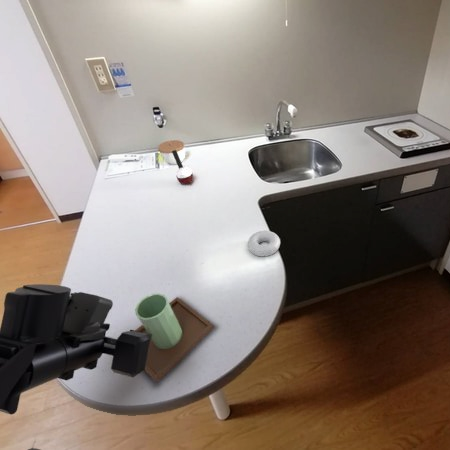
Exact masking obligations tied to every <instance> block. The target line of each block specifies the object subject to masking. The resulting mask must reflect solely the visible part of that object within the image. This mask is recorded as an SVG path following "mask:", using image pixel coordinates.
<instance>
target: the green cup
mask: <svg viewBox="0 0 450 450" xmlns="http://www.w3.org/2000/svg"><path fill="white" fill-rule="evenodd" d="M134 312H135V313H134V314H135V316H136V318H137V319H138V321H139V322H140V324H141V325H142V326H143V327H144V329H145V330H146V332H147V334H148V333H151V334H152V338H151V340H152V342H153V343H154V344H155V346H156V347H157V348H159V349H169V348H171V347H173V346H175V345H176V344H177V343H178V342H179V341H180V339H181V337H182V334H183V332H182V328H181V326H180V324H179V322H178V319H177V317H176V315H175V313H174V311H173V309H172V307H171V305H170V301H169V299H168V297H167V296H166V295H165V294H162V293H159V292H157V293H151V294H149V295H146V296H145V297H143V298H142V299H141V300H140V301H139V302H138V303H137V304H136V306H135V309H134Z"/></svg>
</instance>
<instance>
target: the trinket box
mask: <svg viewBox="0 0 450 450" xmlns="http://www.w3.org/2000/svg"><path fill="white" fill-rule="evenodd" d="M157 150H158V152H159V154H160V156H161V158H162V160H163V161H164V162H166V163H167V164H169V165H173V166H174V165H175V166H176V165H177V163H176V160H175V158H174V156H173V153H172V151H174V150H176V151H177V154H178V156H179V158H180V161H181V163H183V161H184V160H185V157H186V147H185V143H184V142H183V141H181V140H179V139H178V140H177V139H174V140H172V139H171V140H167V141H164V142H162V143H160V144H159V145H158V146H157Z"/></svg>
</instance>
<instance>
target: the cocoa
mask: <svg viewBox="0 0 450 450" xmlns="http://www.w3.org/2000/svg"><path fill="white" fill-rule="evenodd" d="M172 153H173V156H174V158H175V160H176V163H177V164H176V165H177V167H178V169H177V171H176V173H175V177H176V179H177V181H178V183H179V184H181V185H184V186H185V185H189V184H191V183H192V182H193V180H194V175H193V171H192V168H190V167H189V166H188V165H184V166H183V164H182V163H183V162H181V161H180V158H179V156H178V154H177V151H176V150H174V151H172Z"/></svg>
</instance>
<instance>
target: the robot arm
mask: <svg viewBox="0 0 450 450" xmlns="http://www.w3.org/2000/svg"><path fill="white" fill-rule="evenodd" d="M113 306H114V303H113V300H112V299H110V298H107V297H103V296H100V295H96V294H91V293H86V292H82V291H78V292H77V291H76V292H75V291H74V292H72V288H71V287H68V286H64V285H57V284H47V283H45V284H44V283H43V284H42V283H39V284H37V283H36V284H24V285H23V286H21V287H17V288H15V291H9V292H7V293H6V294H5V297H4V302H3V307H4V308H3V309H4V310H3V314H2V319H1V324H0V412H1V413H4V414H7V415H10V416H11V415H15V414H16V413H17V411H18V407H19V403H20V398H21V395H22V394H23V393H25V392H27V391H30V390H32V389H35V388H37V387H40V386H41V385H44V384H46V383H47V384H48V383H49V382H51V381H54V380H56V379H60V380H63V381H66V382H67V381H69V380H71V379H73V378H74V374H75V371H77V370H80V369H86V370H93V369H96V368H97V366H98V361H99V360H100V359H101V357H102V355H103V354H105V355H108V356H113V358H112V362H111V367H110V370H111V371H112V372H113V373H114V374H119V375H122V376H126V377H130V378H134V377H136V376H138V375H140V374H142V373H143V372H145V365H146V360H147V354H148V349H149V344H150V340H151V338H152V334H151V333H148V334H145V333H143V332H139V331H135V330H133V329H129V330H127V331H126V330H125V331H123V332H121V334H120V335H119V336H118V337H117V338H116V337H112V336H107V335H106V333H107V331H109V330H110V326H111V324H110V323H106V320H107V317H108V315H109V312H110V311H111V310H112V308H113ZM27 450H41V449H40V448H34V447H32V448H28V449H27Z"/></svg>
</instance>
